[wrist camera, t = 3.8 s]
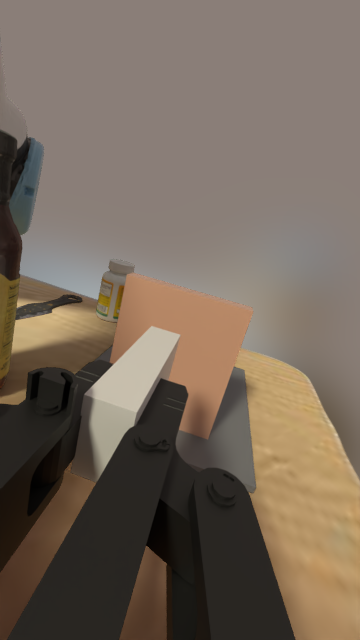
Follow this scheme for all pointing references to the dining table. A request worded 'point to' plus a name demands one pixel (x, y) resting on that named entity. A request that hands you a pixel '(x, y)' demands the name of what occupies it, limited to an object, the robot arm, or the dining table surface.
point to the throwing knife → (44, 307)
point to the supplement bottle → (113, 290)
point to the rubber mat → (221, 434)
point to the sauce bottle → (7, 254)
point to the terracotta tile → (186, 340)
